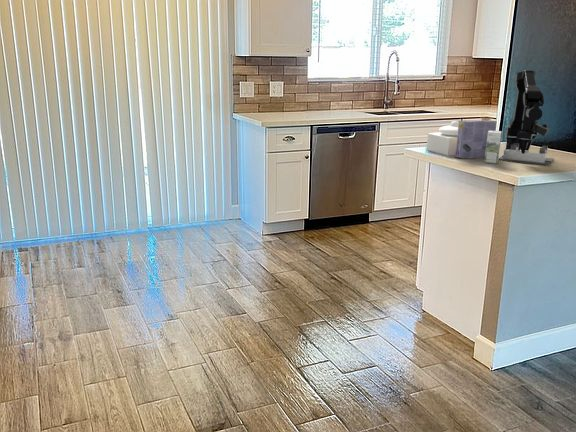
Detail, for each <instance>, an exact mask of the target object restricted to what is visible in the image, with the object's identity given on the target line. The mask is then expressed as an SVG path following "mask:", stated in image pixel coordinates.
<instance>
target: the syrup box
mask: <svg viewBox="0 0 576 432" xmlns="http://www.w3.org/2000/svg"><path fill="white" fill-rule="evenodd" d="M502 135H503V131H501V130H495V131H491V130H489V131H488V136H487V144H486V153H485V158H484V161H483V162H484V164H494V165H497V164H498V163H499V160H498V159H499V158H500V149H501V143H502V141H501V140H502Z"/></svg>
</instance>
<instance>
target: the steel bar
mask: <svg viewBox="0 0 576 432" xmlns="http://www.w3.org/2000/svg"><path fill="white" fill-rule="evenodd" d="M505 149H506V148H505ZM505 149H504V150H503V154H502V156H503V159H509V160H519V161H528V162H537V163H545V162H546V158H547V156H548V152H547V153H539V151H538V152H537V151H529V150H528V151H525V153H524V154H523V153H522V152H521V150H520V151H519V150H509V149H506V150H505Z"/></svg>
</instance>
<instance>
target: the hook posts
mask: <svg viewBox="0 0 576 432" xmlns="http://www.w3.org/2000/svg"><path fill="white" fill-rule="evenodd" d="M518 147H519V144H518V143H513V145H511V148H510V150H518ZM548 149H549V147H548V145H547V146H546V145H542V146H541V147H539V151H538V152H539V153H547V154H548ZM501 157H503V155H501ZM554 160H555V158H552V157H546V161H547V162H551V163H552V162H553V161H554Z"/></svg>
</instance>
